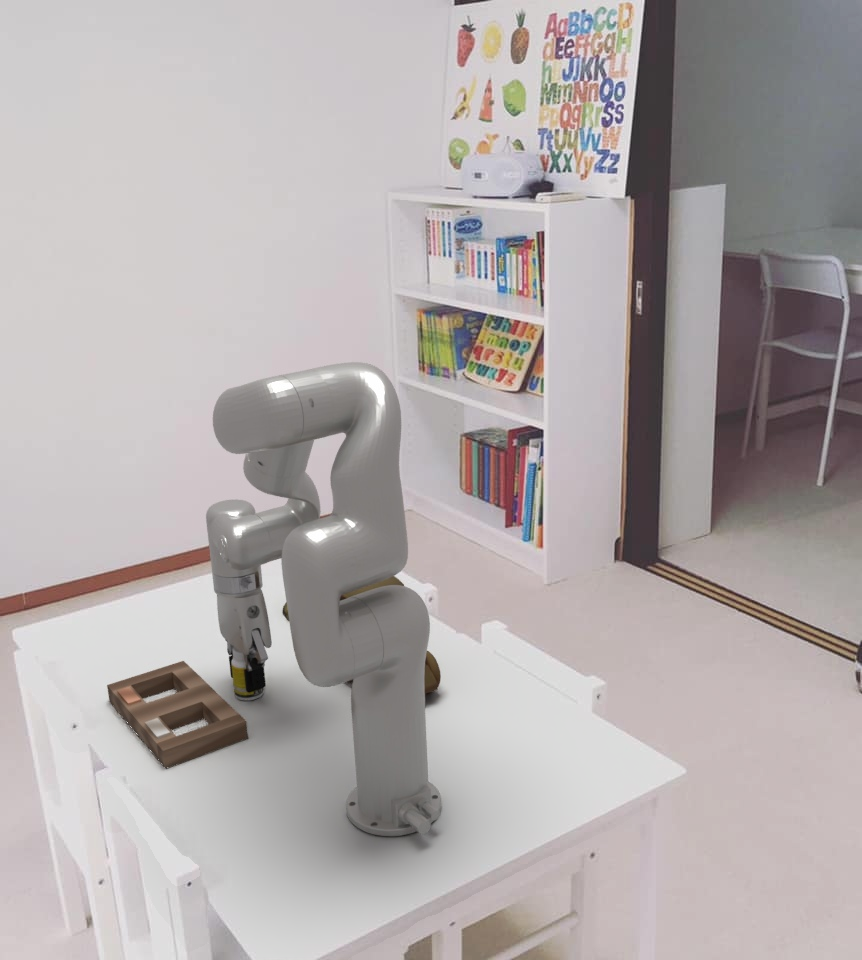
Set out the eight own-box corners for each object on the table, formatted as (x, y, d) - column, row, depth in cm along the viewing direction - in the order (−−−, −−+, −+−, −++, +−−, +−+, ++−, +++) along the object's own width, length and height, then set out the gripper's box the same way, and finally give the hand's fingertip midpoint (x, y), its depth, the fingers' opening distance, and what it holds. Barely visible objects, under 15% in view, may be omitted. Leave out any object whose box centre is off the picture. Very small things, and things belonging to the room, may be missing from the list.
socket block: (248, 738, 162) (246, 718, 161) (165, 768, 155) (162, 748, 154) (185, 676, 181) (183, 658, 180) (109, 701, 174) (106, 682, 173)
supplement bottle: (258, 702, 172) (253, 655, 169) (230, 700, 173) (225, 653, 170) (268, 687, 176) (263, 641, 174) (241, 685, 177) (236, 639, 175)
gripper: (284, 590, 164) (293, 696, 169) (236, 556, 177) (246, 656, 183) (238, 603, 160) (250, 712, 165) (193, 568, 173) (205, 669, 179)
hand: (248, 681), depth 174 cm, fingers closed on supplement bottle, 4 cm apart
